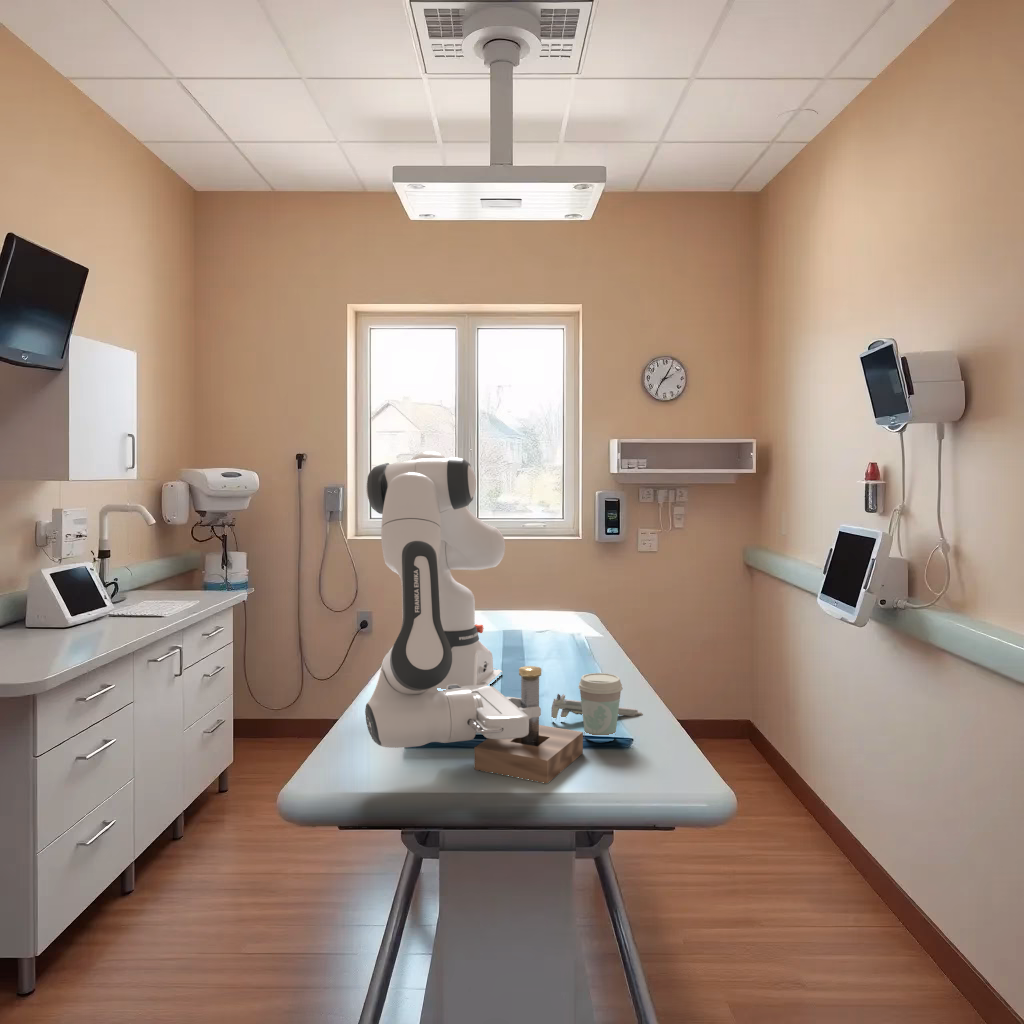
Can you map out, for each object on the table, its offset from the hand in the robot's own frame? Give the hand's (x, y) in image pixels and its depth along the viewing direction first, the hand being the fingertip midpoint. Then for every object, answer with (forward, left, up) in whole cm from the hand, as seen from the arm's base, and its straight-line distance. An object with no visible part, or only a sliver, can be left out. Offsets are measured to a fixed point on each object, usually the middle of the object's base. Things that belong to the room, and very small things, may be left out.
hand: (534, 706), depth 147 cm
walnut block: (+1, -1, -10) cm, 10 cm away
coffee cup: (-16, +6, -10) cm, 20 cm away
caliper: (-28, +2, -10) cm, 30 cm away
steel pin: (+1, -1, -8) cm, 8 cm away
